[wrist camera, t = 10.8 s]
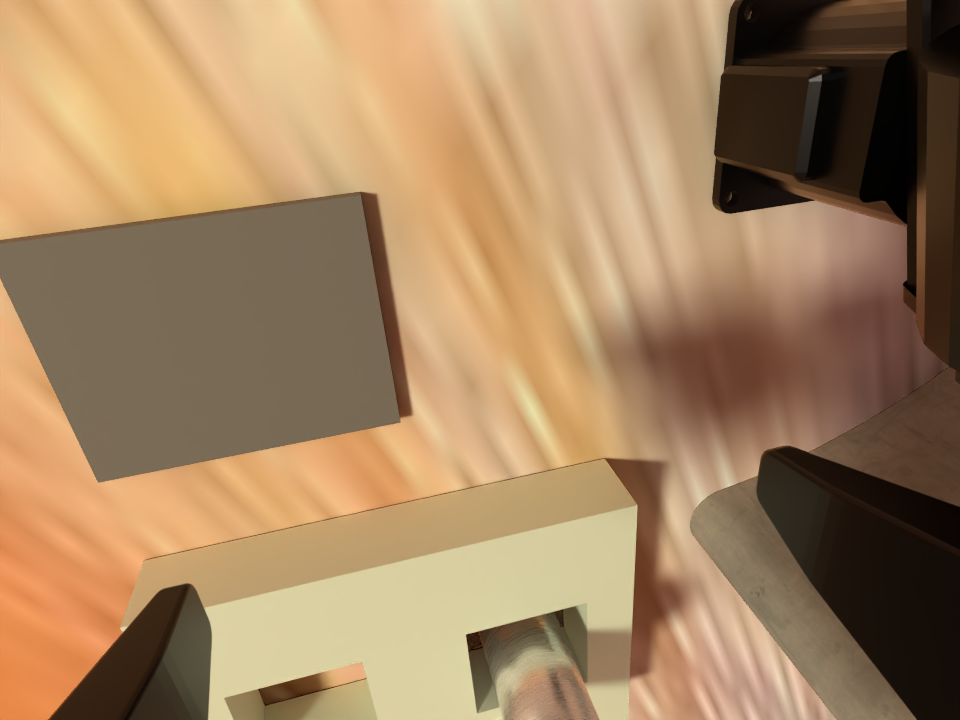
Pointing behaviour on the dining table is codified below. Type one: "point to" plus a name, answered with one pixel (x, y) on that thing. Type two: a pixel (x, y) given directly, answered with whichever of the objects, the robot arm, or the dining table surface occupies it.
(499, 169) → the dining table surface
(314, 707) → the socket block
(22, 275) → the mat
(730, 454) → the dining table surface
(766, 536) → the grey upright panel
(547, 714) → the plug
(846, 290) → the dining table surface
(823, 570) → the robot arm
